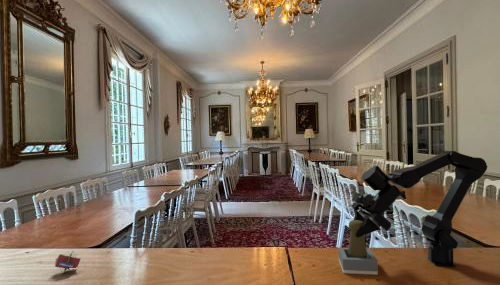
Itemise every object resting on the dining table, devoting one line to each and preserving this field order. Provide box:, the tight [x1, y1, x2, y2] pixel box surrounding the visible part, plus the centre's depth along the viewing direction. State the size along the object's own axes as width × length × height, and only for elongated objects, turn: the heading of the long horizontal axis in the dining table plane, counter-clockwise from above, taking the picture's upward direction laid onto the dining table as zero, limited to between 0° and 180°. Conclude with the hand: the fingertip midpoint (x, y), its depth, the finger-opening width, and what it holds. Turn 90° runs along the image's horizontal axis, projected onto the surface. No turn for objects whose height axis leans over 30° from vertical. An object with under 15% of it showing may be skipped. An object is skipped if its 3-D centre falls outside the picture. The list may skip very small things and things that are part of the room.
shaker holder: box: [338, 247, 379, 275], centre depth 103 cm, size 11×11×4 cm
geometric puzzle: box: [54, 251, 81, 271], centre depth 105 cm, size 7×7×8 cm
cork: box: [348, 219, 367, 257], centre depth 103 cm, size 6×6×11 cm
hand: (353, 234), depth 102 cm, fingers closed on cork, 5 cm apart
